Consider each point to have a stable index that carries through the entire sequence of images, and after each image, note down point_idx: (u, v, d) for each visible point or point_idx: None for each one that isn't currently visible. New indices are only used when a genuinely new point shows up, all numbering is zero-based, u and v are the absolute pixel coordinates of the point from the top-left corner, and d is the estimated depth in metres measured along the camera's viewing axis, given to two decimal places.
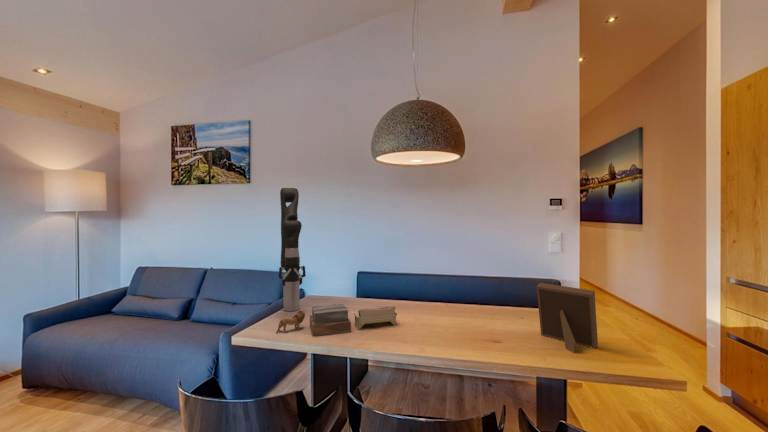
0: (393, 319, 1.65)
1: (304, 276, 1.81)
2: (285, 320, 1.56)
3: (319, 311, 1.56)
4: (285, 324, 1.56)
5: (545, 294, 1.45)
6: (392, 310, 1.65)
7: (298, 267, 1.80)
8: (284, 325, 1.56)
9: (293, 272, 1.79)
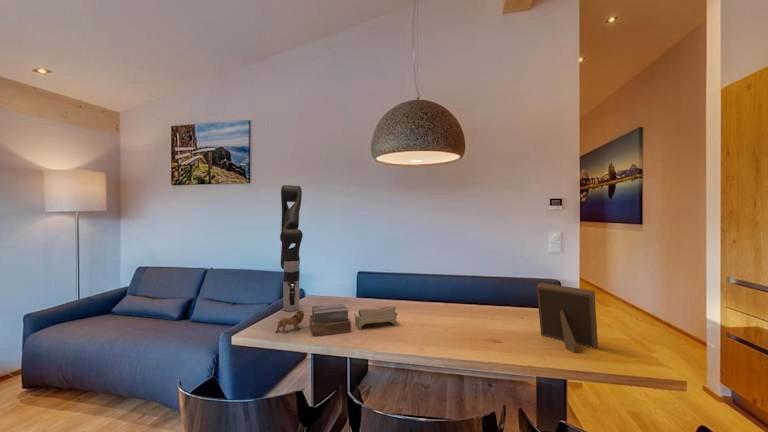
0: (393, 319, 1.65)
1: None
2: (284, 320, 1.56)
3: (319, 311, 1.56)
4: (284, 324, 1.55)
5: (545, 294, 1.45)
6: (392, 310, 1.64)
7: None
8: (283, 325, 1.55)
9: None
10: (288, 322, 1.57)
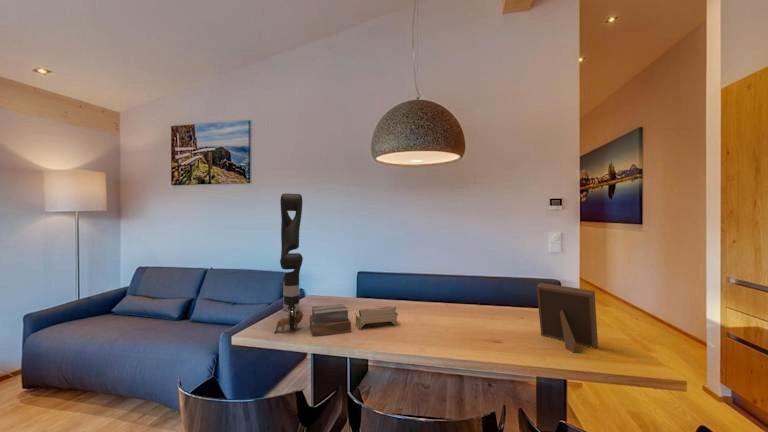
0: (394, 319, 1.65)
1: None
2: (283, 320, 1.55)
3: (319, 311, 1.56)
4: (283, 324, 1.55)
5: (545, 294, 1.45)
6: (393, 310, 1.64)
7: None
8: (282, 325, 1.55)
9: None
10: (287, 322, 1.56)
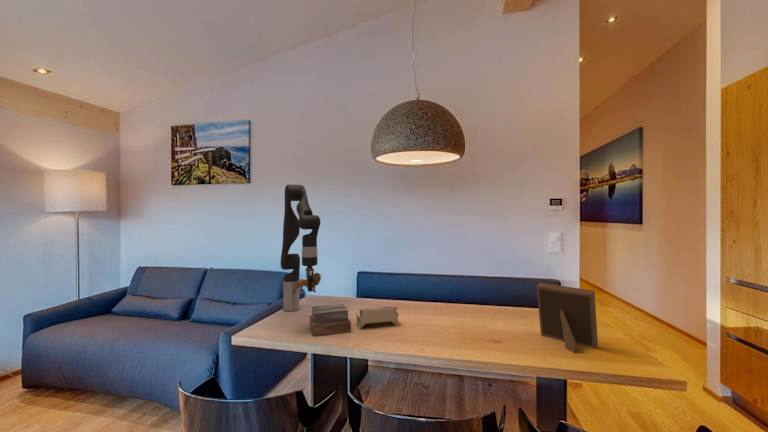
0: (395, 319, 1.65)
1: None
2: (301, 281, 1.56)
3: (319, 311, 1.56)
4: (301, 285, 1.56)
5: (545, 294, 1.45)
6: (394, 310, 1.64)
7: None
8: (300, 286, 1.56)
9: None
10: (305, 283, 1.57)
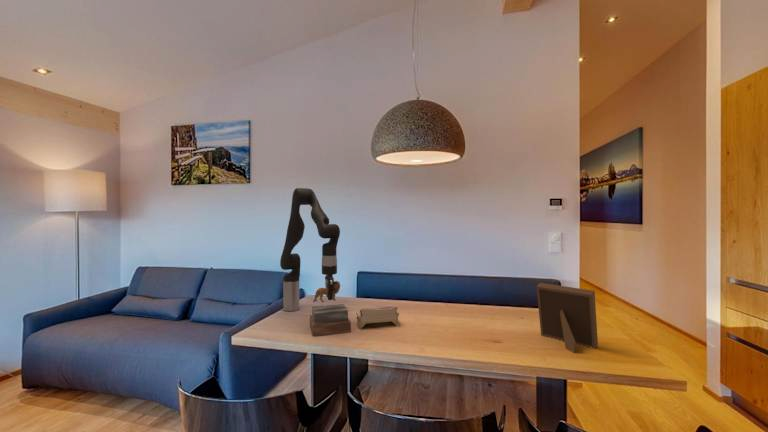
0: (395, 319, 1.65)
1: None
2: (322, 290, 1.57)
3: (319, 311, 1.56)
4: (322, 294, 1.57)
5: (545, 294, 1.45)
6: (394, 310, 1.64)
7: None
8: (321, 295, 1.57)
9: None
10: (325, 292, 1.58)
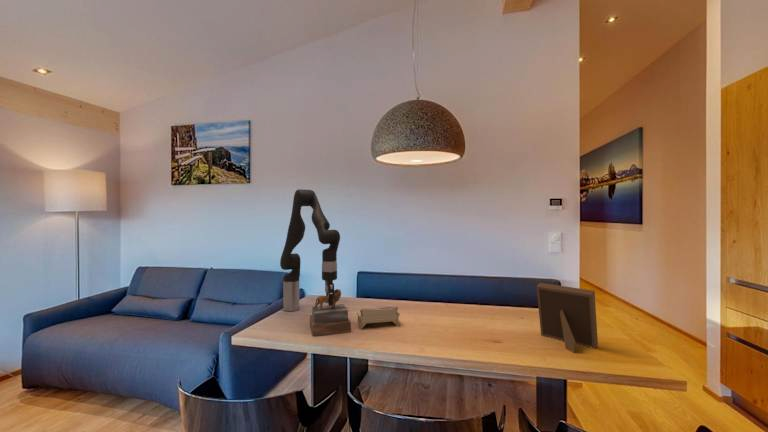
0: (395, 319, 1.65)
1: None
2: (321, 298, 1.59)
3: (319, 311, 1.56)
4: (321, 301, 1.58)
5: (545, 294, 1.45)
6: (394, 310, 1.64)
7: None
8: (321, 302, 1.58)
9: None
10: (325, 300, 1.59)
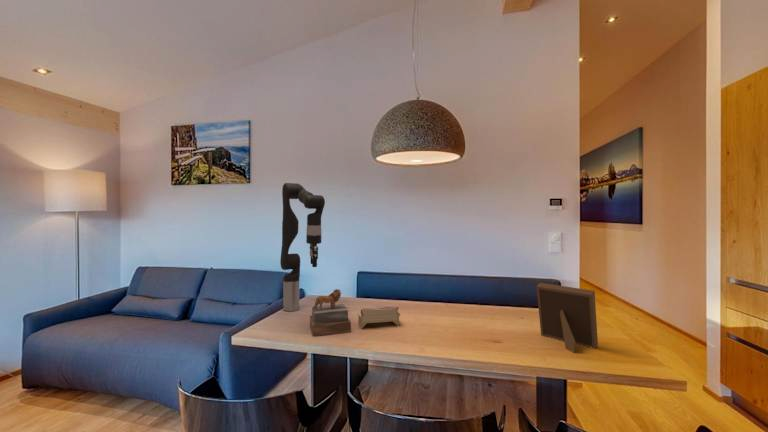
0: (396, 319, 1.65)
1: None
2: (321, 298, 1.59)
3: (319, 311, 1.56)
4: (321, 302, 1.58)
5: (545, 294, 1.45)
6: (395, 310, 1.64)
7: None
8: (320, 302, 1.58)
9: None
10: (325, 300, 1.59)
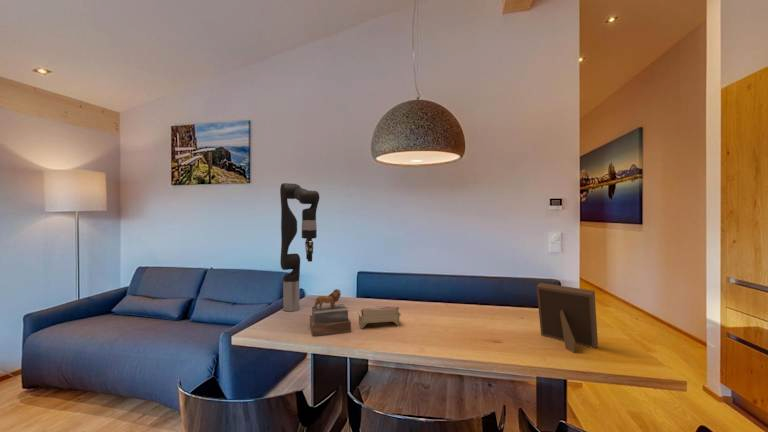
0: (396, 319, 1.65)
1: None
2: (321, 298, 1.59)
3: (319, 311, 1.56)
4: (321, 302, 1.58)
5: (545, 294, 1.45)
6: (395, 310, 1.64)
7: None
8: (320, 302, 1.58)
9: None
10: (325, 300, 1.59)
